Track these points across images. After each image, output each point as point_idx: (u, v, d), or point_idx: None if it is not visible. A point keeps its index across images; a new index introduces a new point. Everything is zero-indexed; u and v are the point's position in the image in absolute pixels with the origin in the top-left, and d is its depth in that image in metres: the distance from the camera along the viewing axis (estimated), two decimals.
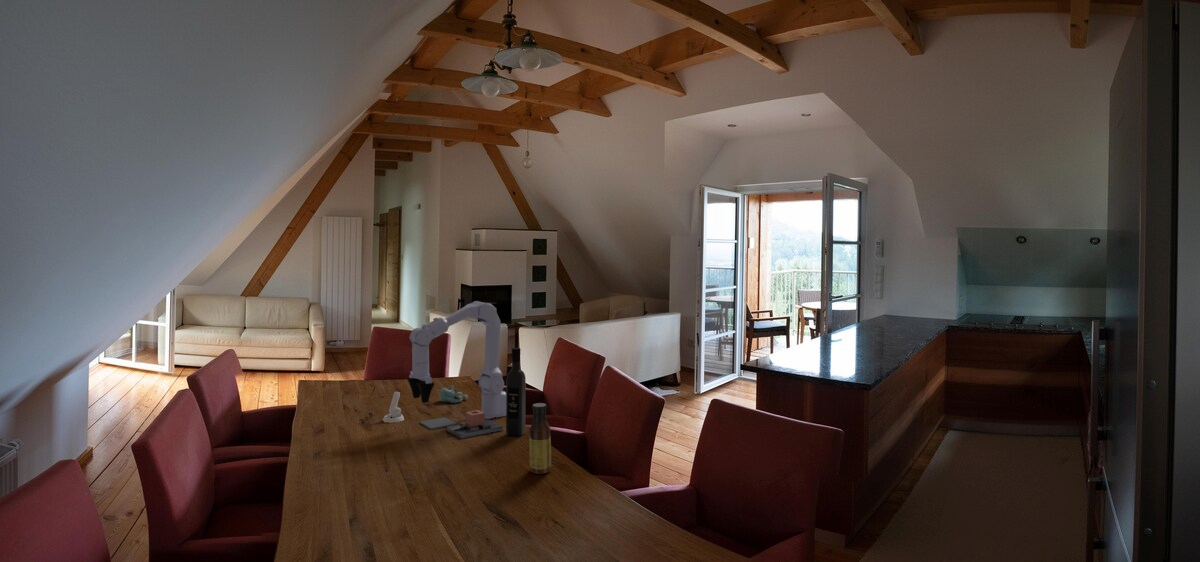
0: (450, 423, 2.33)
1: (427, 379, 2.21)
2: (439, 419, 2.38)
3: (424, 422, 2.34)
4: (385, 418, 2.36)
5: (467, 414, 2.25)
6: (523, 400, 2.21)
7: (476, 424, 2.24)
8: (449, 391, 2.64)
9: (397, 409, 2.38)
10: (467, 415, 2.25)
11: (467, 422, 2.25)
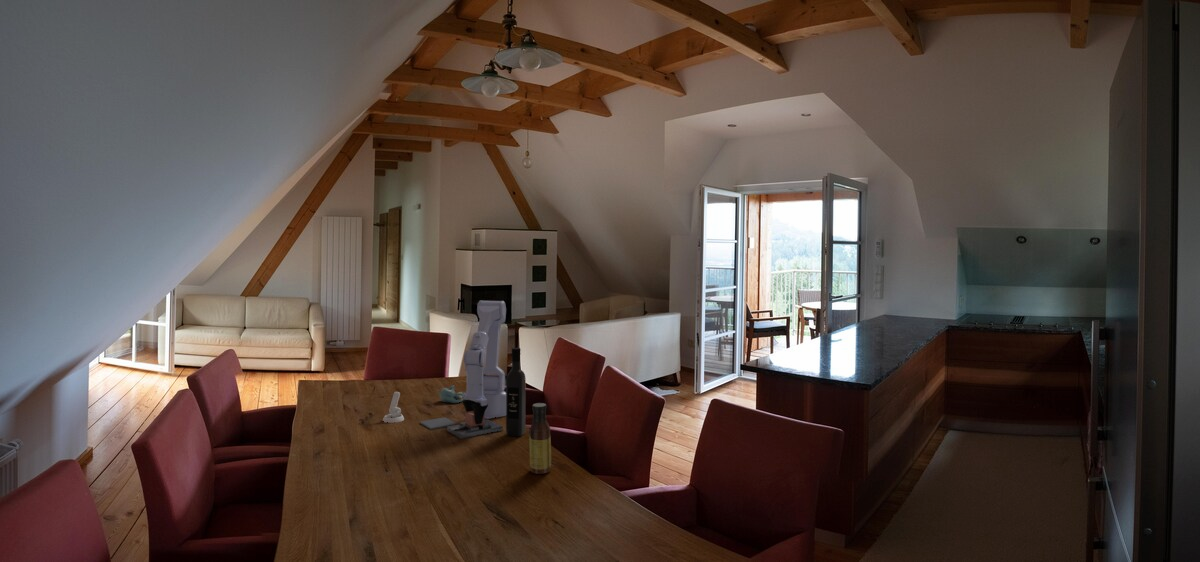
0: (450, 423, 2.33)
1: (483, 401, 2.19)
2: (439, 419, 2.38)
3: (424, 422, 2.34)
4: (385, 418, 2.36)
5: (467, 414, 2.25)
6: (523, 400, 2.21)
7: (476, 424, 2.24)
8: (450, 391, 2.64)
9: (397, 409, 2.38)
10: (467, 415, 2.25)
11: (467, 422, 2.25)
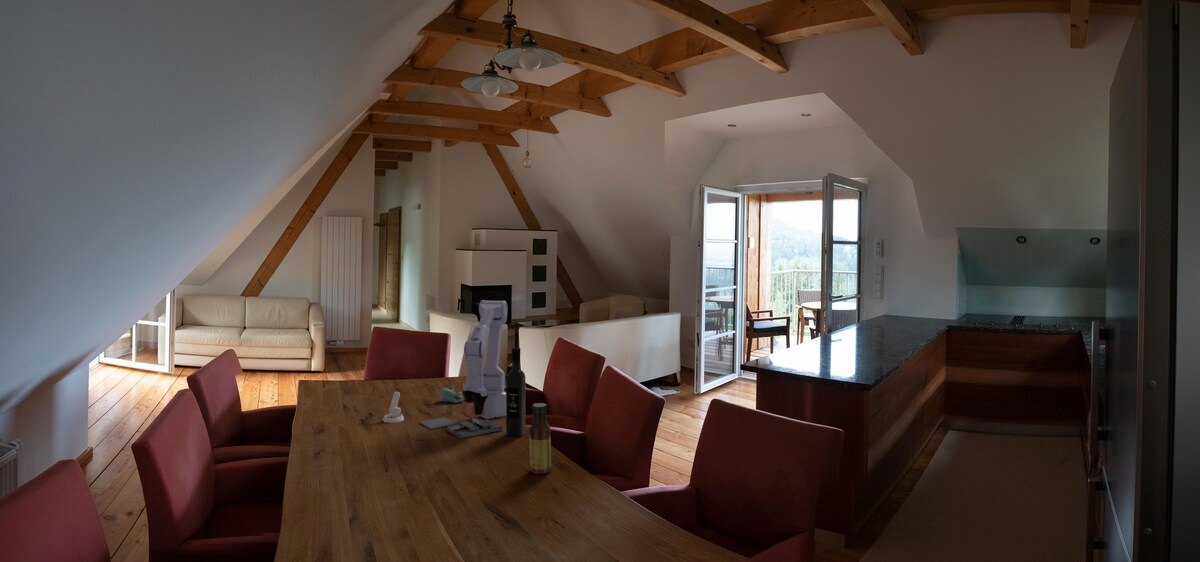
0: (450, 423, 2.33)
1: (483, 392, 2.19)
2: (439, 419, 2.38)
3: (424, 422, 2.34)
4: (385, 418, 2.36)
5: (467, 405, 2.25)
6: (523, 400, 2.21)
7: (476, 415, 2.24)
8: (450, 391, 2.64)
9: (397, 409, 2.38)
10: (467, 406, 2.25)
11: (467, 413, 2.25)
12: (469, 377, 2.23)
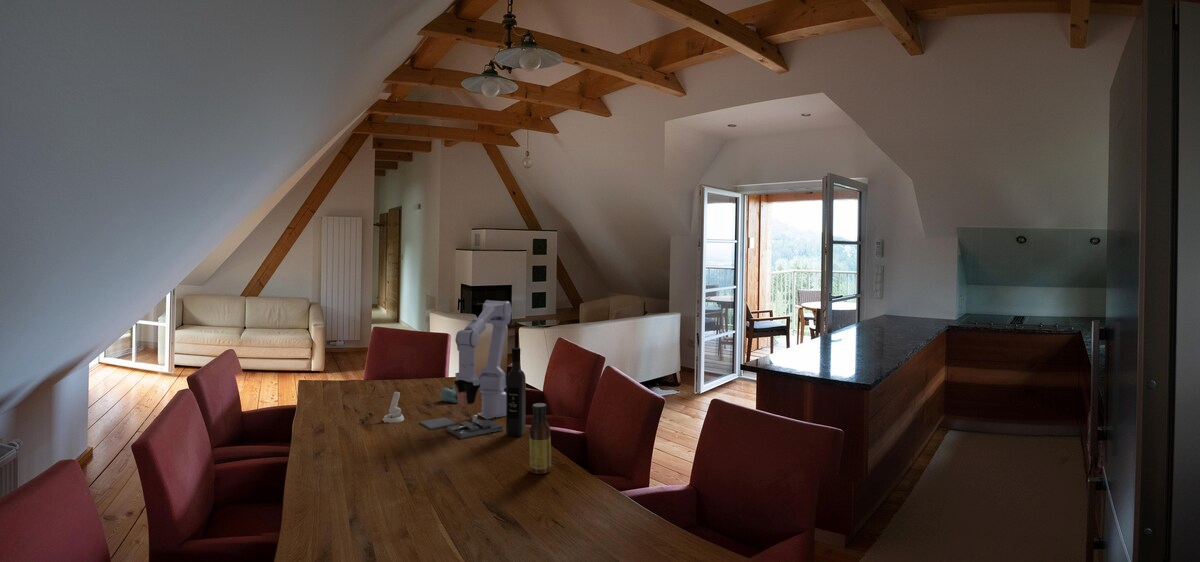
0: (450, 423, 2.33)
1: (475, 381, 2.21)
2: (439, 419, 2.38)
3: (424, 422, 2.34)
4: (385, 418, 2.36)
5: (459, 394, 2.26)
6: (523, 400, 2.21)
7: (468, 404, 2.25)
8: (450, 391, 2.65)
9: (397, 409, 2.38)
10: (459, 395, 2.26)
11: (459, 402, 2.26)
12: (461, 366, 2.24)
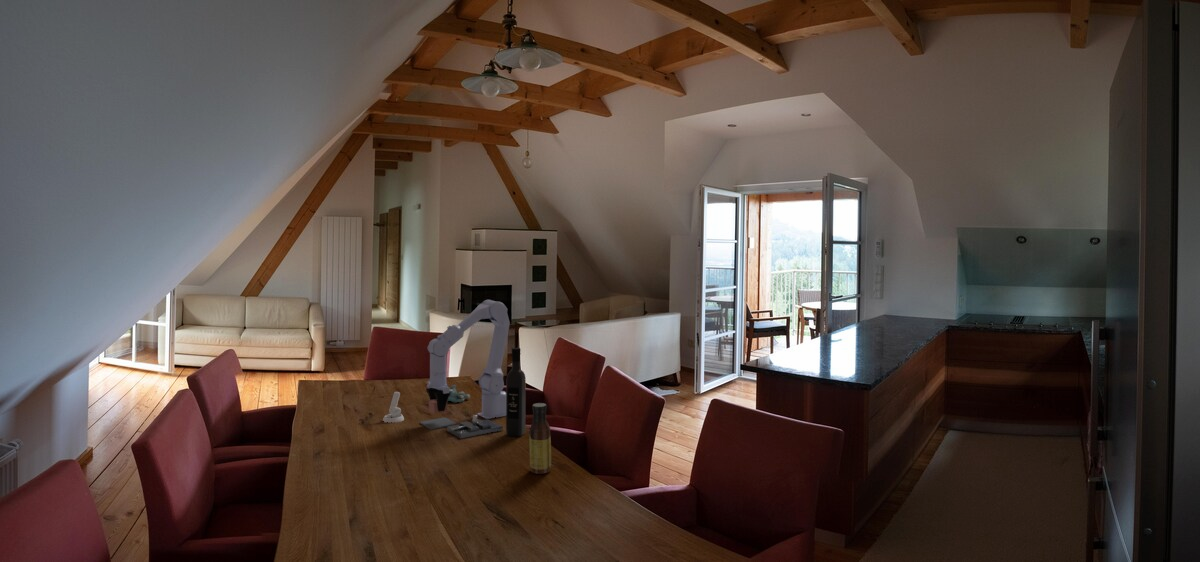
0: (450, 423, 2.33)
1: (445, 389, 2.27)
2: (439, 419, 2.38)
3: (424, 422, 2.34)
4: (385, 418, 2.36)
5: (430, 402, 2.32)
6: (523, 400, 2.21)
7: None
8: (451, 390, 2.65)
9: (397, 409, 2.38)
10: (430, 403, 2.32)
11: (430, 410, 2.32)
12: (432, 375, 2.30)
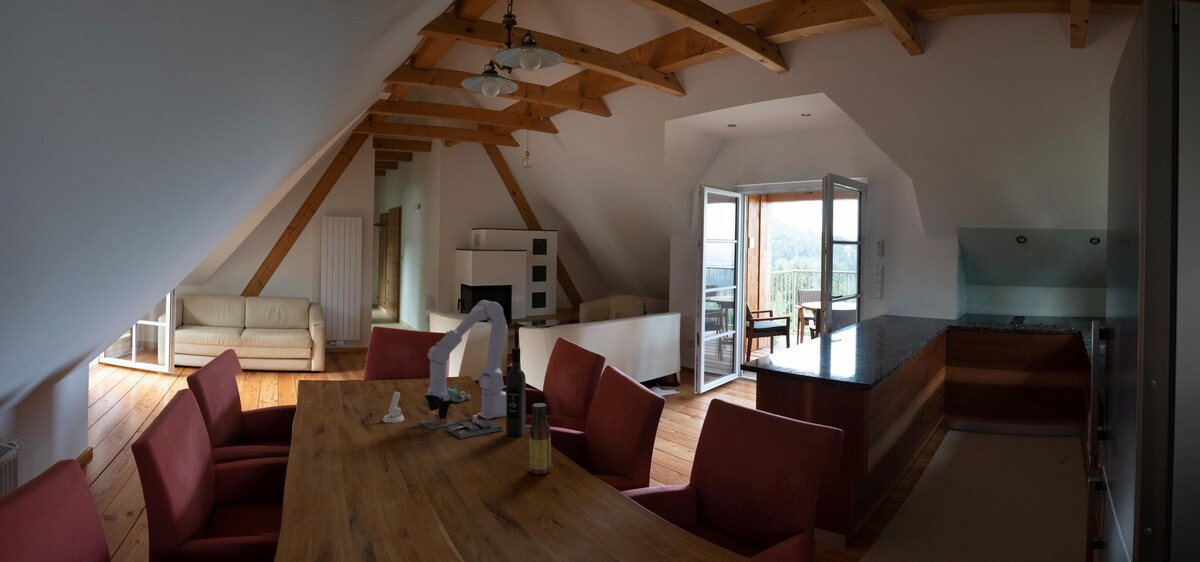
0: (450, 423, 2.33)
1: (445, 396, 2.27)
2: None
3: (424, 422, 2.34)
4: (385, 418, 2.36)
5: (430, 413, 2.32)
6: (523, 400, 2.21)
7: (439, 423, 2.31)
8: (451, 390, 2.65)
9: (397, 409, 2.38)
10: (430, 414, 2.32)
11: (430, 421, 2.33)
12: (432, 382, 2.30)
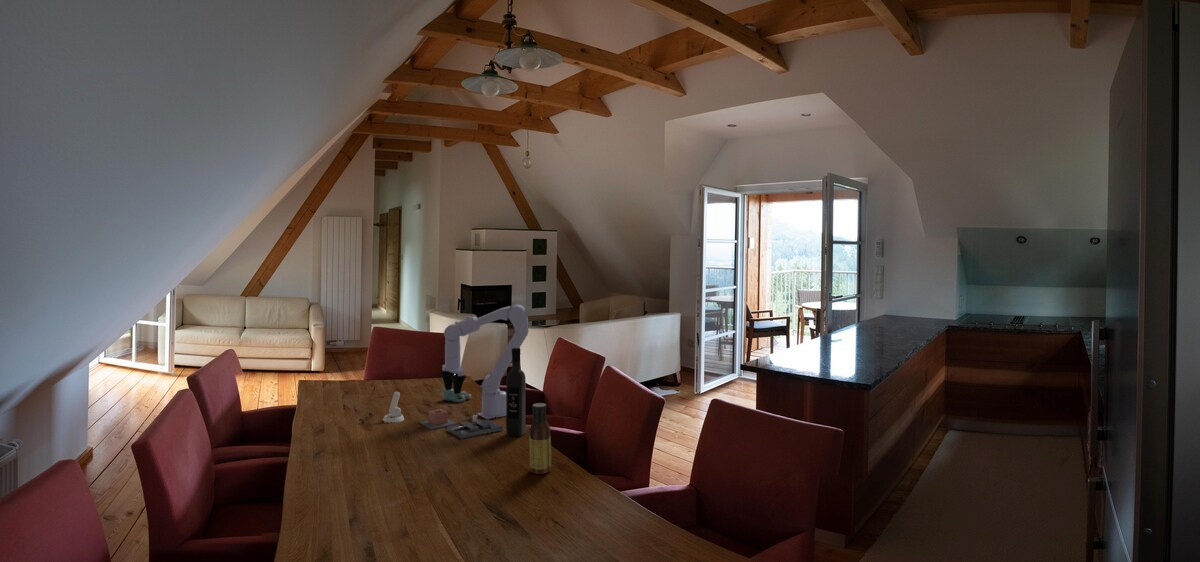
0: (450, 423, 2.33)
1: (460, 372, 2.38)
2: None
3: (424, 422, 2.34)
4: (385, 418, 2.36)
5: (430, 413, 2.32)
6: (523, 400, 2.21)
7: (439, 423, 2.31)
8: (452, 390, 2.66)
9: (397, 409, 2.38)
10: (430, 414, 2.32)
11: (430, 421, 2.33)
12: (447, 358, 2.41)
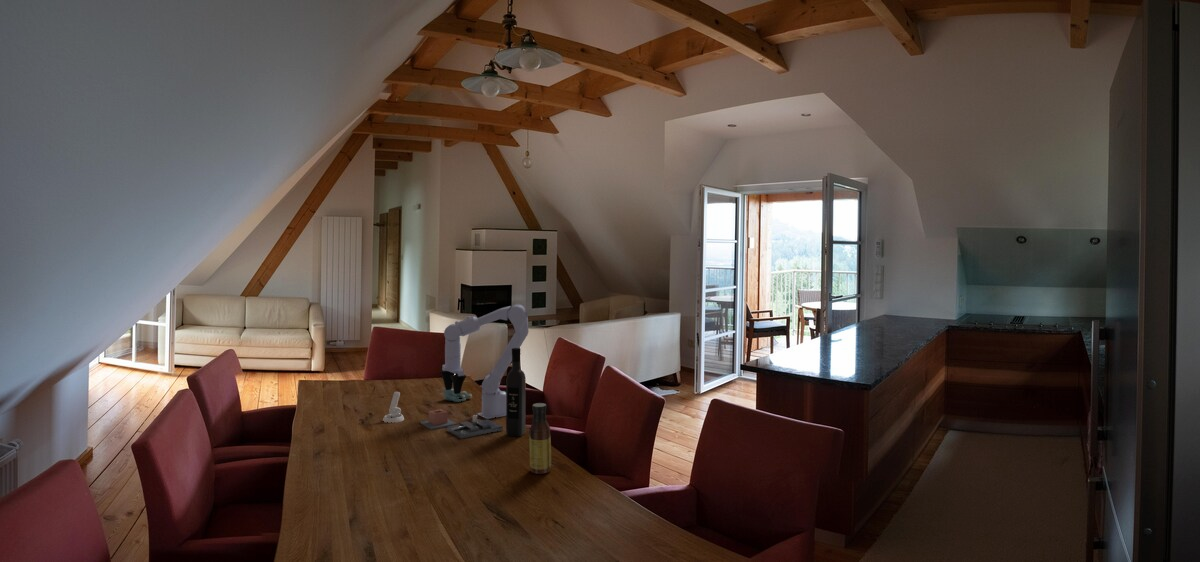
0: (450, 423, 2.33)
1: (459, 372, 2.38)
2: None
3: (424, 422, 2.34)
4: (385, 418, 2.36)
5: (430, 413, 2.32)
6: (523, 400, 2.21)
7: (439, 423, 2.31)
8: (452, 390, 2.66)
9: (397, 409, 2.38)
10: (430, 414, 2.32)
11: (430, 421, 2.33)
12: (447, 358, 2.41)
